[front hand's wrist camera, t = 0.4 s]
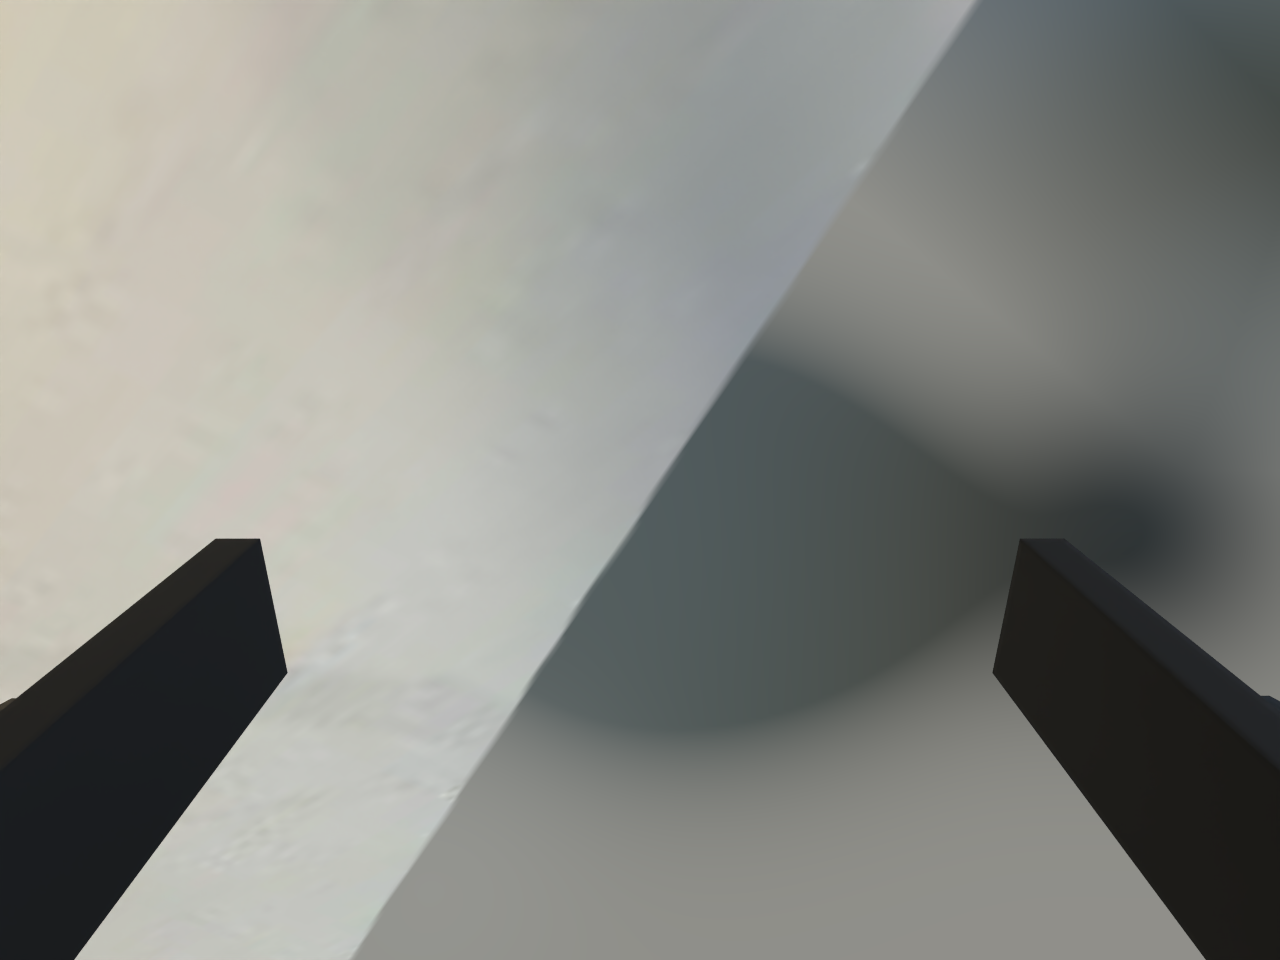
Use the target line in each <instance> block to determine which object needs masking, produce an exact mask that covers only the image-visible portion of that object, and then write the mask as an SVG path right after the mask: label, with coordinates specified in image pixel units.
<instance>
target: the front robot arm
mask: <svg viewBox="0 0 1280 960" xmlns="http://www.w3.org/2000/svg"><path fill="white" fill-rule="evenodd" d="M286 674H287V668H286V663H285V658H284V653H283V649H282V644H281V639H280V634H279V629H278V624H277V619H276V614H275V610H274V605H273V600H272V595H271V590H270V585H269V580H268V575H267V571H266V566H265V561H264V556H263V551H262V546H261V541H260V539H215V540H213V541H212V542H211V543H210V544H208V545H207V546H206V547H205V548H203V549H202V550H201V551H200V552H198V553H197V554H196V555H195V556H193V557H192V558H191V559H190V560H188V561H187V562H186V563H185V564H183V565H182V566H181V567H180V568H179V569H177V570H176V571H175V572H174V573H172V574H171V575H170V576H169V577H167V578H166V579H165V580H164V581H162V582H161V583H160V584H159V585H157V586H156V587H155V588H154V589H152V590H151V591H150V592H149V593H147V594H146V595H145V596H144V597H142V598H141V599H140V600H139V601H137V602H136V603H135V604H134V605H132V606H131V607H130V608H129V609H127V610H126V611H125V612H124V613H122V614H121V615H120V616H119V617H117V618H116V619H115V620H114V621H112V622H111V623H110V624H109V625H107V626H106V627H105V628H104V629H102V630H101V631H100V632H99V633H97V634H96V635H95V636H94V637H92V638H91V639H90V640H89V641H87V642H86V643H85V644H84V645H82V646H81V647H80V648H79V649H77V650H76V651H75V652H74V653H72V654H71V655H70V656H69V657H67V658H66V659H65V660H64V661H62V662H61V663H60V664H59V665H57V666H56V667H55V668H54V669H52V670H51V671H50V672H49V673H47V674H46V675H45V676H44V677H42V678H41V679H40V680H39V681H38V682H36V683H35V684H34V685H33V686H31V687H30V688H29V689H28V690H26V691H25V692H24V693H23V694H21V695H20V696H19V697H18V698H11V699H10V700H8V701H6V702H4V703H2V704H0V960H74V959H75V958H76V957H77V955H78V954H79V952H80V951H81V950H82V948H83V947H84V946H85V944H86V943H87V942H88V940H89V939H90V938H91V936H92V935H93V934H94V932H95V931H96V930H97V928H98V927H99V926H100V924H101V923H102V922H103V920H104V919H105V918H106V916H107V915H108V913H109V912H110V911H111V909H112V908H113V907H114V905H115V904H116V903H117V901H118V900H119V899H120V897H121V896H122V895H123V893H124V892H125V891H126V889H127V888H128V887H129V885H130V884H131V883H132V881H133V880H134V878H135V877H136V876H137V874H138V873H139V872H140V870H141V869H142V868H143V866H144V865H145V864H146V862H147V861H148V860H149V858H150V857H151V856H152V854H153V853H154V852H155V850H156V849H157V848H158V846H159V845H160V844H161V842H162V841H163V839H164V838H165V837H166V835H167V834H168V833H169V831H170V830H171V829H172V827H173V826H174V825H175V823H176V822H177V821H178V819H179V818H180V817H181V815H182V814H183V813H184V811H185V810H186V809H187V807H188V806H189V805H190V803H191V802H192V800H193V799H194V798H195V796H196V795H197V794H198V792H199V791H200V790H201V788H202V787H203V786H204V784H205V783H206V782H207V780H208V779H209V778H210V776H211V775H212V774H213V772H214V771H215V770H216V768H217V767H218V766H219V764H220V763H221V761H222V760H223V759H224V757H225V756H226V755H227V753H228V752H229V751H230V749H231V748H232V747H233V745H234V744H235V743H236V741H237V740H238V739H239V737H240V736H241V735H242V733H243V732H244V731H245V729H246V728H247V727H248V725H249V724H250V722H251V721H252V720H253V718H254V717H255V716H256V714H257V713H258V712H259V710H260V709H261V708H262V706H263V705H264V704H265V702H266V701H267V700H268V698H269V697H270V696H271V694H272V693H273V692H274V690H275V689H276V688H277V686H278V685H279V683H280V682H281V681H282V679H283V678H284V677H285V675H286ZM993 674H994V675H995V677H996V678H997V679H998V681H999V682H1000V683H1001V685H1002V686H1003V688H1004V689H1005V690H1006V692H1007V693H1008V694H1009V696H1010V697H1011V698H1012V700H1013V701H1014V702H1015V704H1016V705H1017V706H1018V708H1019V709H1020V710H1021V712H1022V713H1023V714H1024V716H1025V717H1026V718H1027V720H1028V721H1029V722H1030V724H1031V725H1032V727H1033V728H1034V729H1035V731H1036V732H1037V733H1038V735H1039V736H1040V737H1041V739H1042V740H1043V741H1044V743H1045V744H1046V745H1047V747H1048V748H1049V749H1050V751H1051V752H1052V753H1053V755H1054V756H1055V757H1056V759H1057V760H1058V761H1059V763H1060V764H1061V765H1062V767H1063V768H1064V770H1065V771H1066V772H1067V774H1068V775H1069V776H1070V778H1071V779H1072V780H1073V781H1074V783H1075V784H1076V786H1077V787H1078V788H1079V790H1080V791H1081V792H1082V794H1083V795H1084V796H1085V798H1086V799H1087V800H1088V802H1089V803H1090V805H1091V806H1092V807H1093V809H1094V810H1095V811H1096V813H1097V814H1098V815H1099V817H1100V818H1101V819H1102V821H1103V822H1104V823H1105V825H1106V826H1107V827H1108V829H1109V830H1110V831H1111V833H1112V834H1113V835H1114V837H1115V838H1116V839H1117V841H1118V842H1119V843H1120V845H1121V846H1122V848H1123V849H1124V850H1125V852H1126V853H1127V854H1128V856H1129V857H1130V858H1131V860H1132V861H1133V862H1134V864H1135V865H1136V866H1137V868H1138V869H1139V870H1140V872H1141V873H1142V874H1143V876H1144V877H1145V879H1146V880H1147V881H1148V883H1149V884H1150V885H1151V887H1152V888H1153V889H1154V891H1155V892H1156V893H1157V895H1158V896H1159V897H1160V899H1161V900H1162V901H1163V903H1164V904H1165V905H1166V907H1167V908H1168V909H1169V911H1170V912H1171V913H1172V915H1173V916H1174V917H1175V919H1176V920H1177V922H1178V923H1179V924H1180V926H1181V927H1182V928H1183V930H1184V931H1185V932H1186V934H1187V935H1188V936H1189V938H1190V939H1191V940H1192V942H1193V943H1194V944H1195V946H1196V947H1197V948H1198V950H1199V951H1200V952H1201V954H1202V955H1203V956H1204V958H1205V959H1206V960H1280V701H1278V700H1276V699H1274V698H1272V697H1271V696H1260V695H1259V694H1257V693H1256V692H1255V691H1254V690H1252V689H1251V688H1250V687H1249V686H1247V685H1246V684H1245V683H1244V682H1242V681H1241V680H1240V679H1239V678H1238V677H1236V676H1235V675H1234V674H1233V673H1231V672H1230V671H1229V670H1227V669H1226V668H1225V667H1224V666H1222V665H1221V664H1220V663H1219V662H1217V661H1216V660H1215V659H1214V658H1213V657H1211V656H1210V655H1209V654H1208V653H1206V652H1205V651H1204V650H1203V649H1201V648H1200V647H1199V646H1198V645H1196V644H1195V643H1194V642H1192V641H1191V640H1190V639H1189V638H1188V637H1186V636H1185V635H1184V634H1183V633H1181V632H1180V631H1179V630H1178V629H1176V628H1175V627H1174V626H1173V625H1171V624H1170V623H1169V622H1168V621H1166V620H1165V619H1164V618H1163V617H1161V616H1160V615H1159V614H1158V613H1156V612H1155V611H1154V610H1153V609H1151V608H1150V607H1149V606H1148V605H1146V604H1145V603H1144V602H1143V601H1141V600H1140V599H1139V598H1138V597H1136V596H1135V595H1134V594H1133V593H1131V592H1130V591H1129V590H1128V589H1126V588H1125V587H1124V586H1123V585H1121V584H1120V583H1119V582H1118V581H1116V580H1115V579H1114V578H1113V577H1111V576H1110V575H1109V574H1108V573H1106V572H1105V571H1104V570H1103V569H1101V568H1100V567H1099V566H1098V565H1097V564H1095V563H1094V562H1093V561H1092V560H1090V559H1089V558H1088V557H1086V556H1085V555H1084V554H1083V553H1082V552H1080V551H1079V550H1078V549H1076V548H1075V547H1074V546H1073V545H1072V544H1070V543H1069V542H1068V541H1067V540H1065V539H1020V541H1019V546H1018V551H1017V556H1016V561H1015V566H1014V571H1013V576H1012V580H1011V585H1010V590H1009V595H1008V600H1007V605H1006V610H1005V614H1004V619H1003V624H1002V629H1001V634H1000V639H999V644H998V649H997V654H996V658H995V663H994V668H993Z"/></svg>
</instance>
